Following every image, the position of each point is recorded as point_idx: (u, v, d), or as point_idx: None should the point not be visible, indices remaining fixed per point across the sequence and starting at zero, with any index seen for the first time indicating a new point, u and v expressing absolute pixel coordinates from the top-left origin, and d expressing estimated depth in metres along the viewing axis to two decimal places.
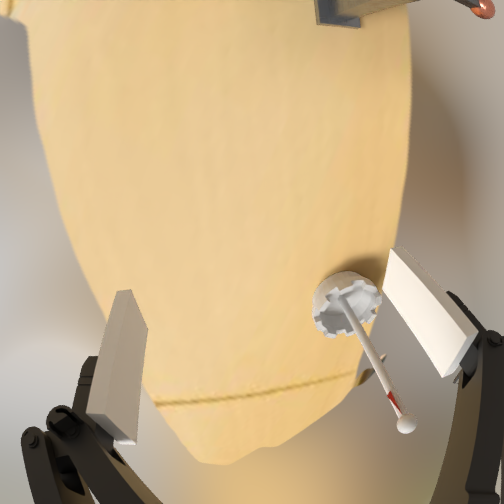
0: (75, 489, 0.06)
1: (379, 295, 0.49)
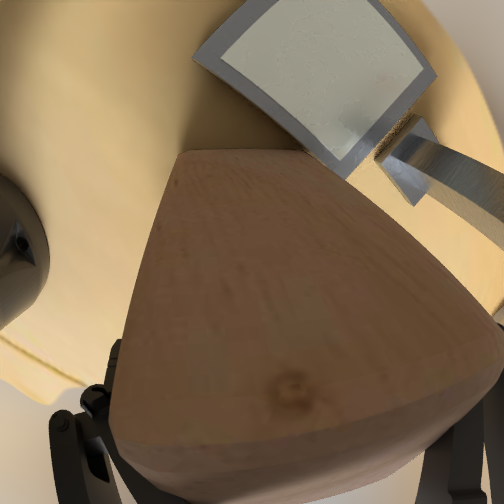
0: (99, 475, 0.07)
1: None
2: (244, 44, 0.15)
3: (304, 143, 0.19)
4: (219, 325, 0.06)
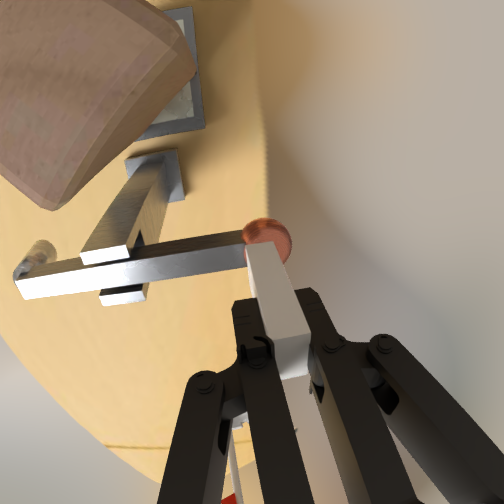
0: None
1: None
2: None
3: None
4: None
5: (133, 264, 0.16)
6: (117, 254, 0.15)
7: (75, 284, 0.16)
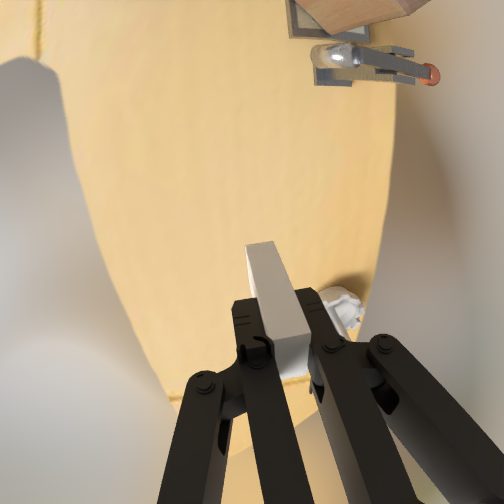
0: None
1: (362, 306, 0.59)
2: None
3: (291, 11, 0.31)
4: None
5: (410, 62, 0.23)
6: (409, 53, 0.21)
7: (392, 64, 0.21)
